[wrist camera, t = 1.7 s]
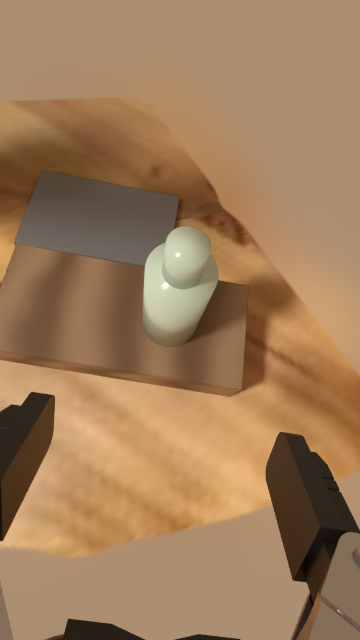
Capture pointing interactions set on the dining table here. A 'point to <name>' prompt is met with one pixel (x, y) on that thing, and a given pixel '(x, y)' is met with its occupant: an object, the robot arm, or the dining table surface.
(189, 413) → the dining table surface
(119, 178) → the dining table surface
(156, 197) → the charcoal mat
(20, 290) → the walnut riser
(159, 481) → the dining table surface
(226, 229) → the dining table surface
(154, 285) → the celadon bottle
